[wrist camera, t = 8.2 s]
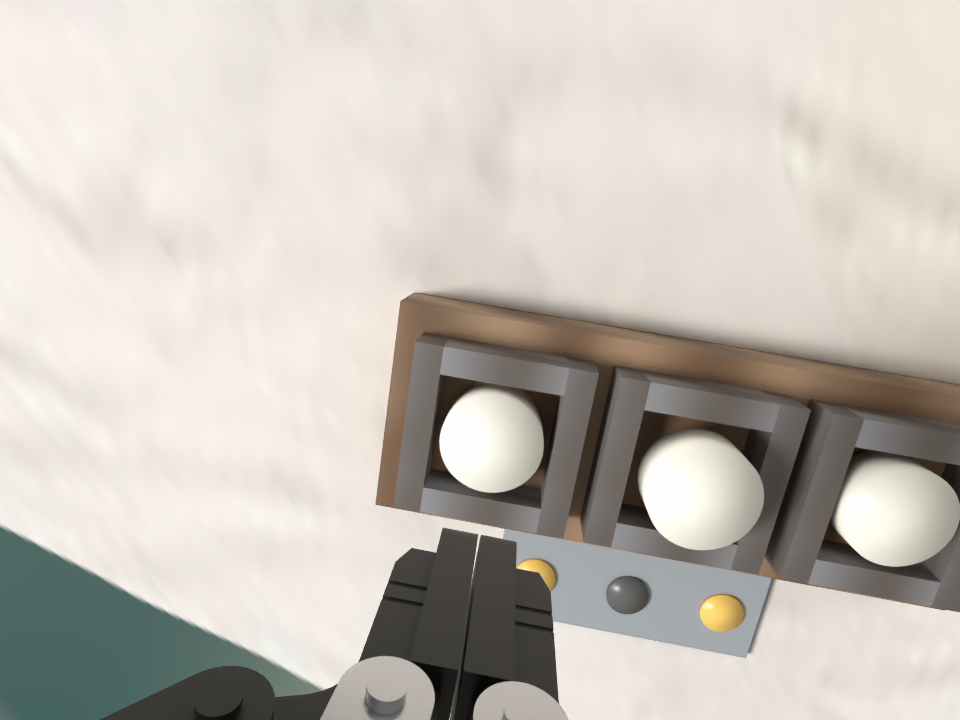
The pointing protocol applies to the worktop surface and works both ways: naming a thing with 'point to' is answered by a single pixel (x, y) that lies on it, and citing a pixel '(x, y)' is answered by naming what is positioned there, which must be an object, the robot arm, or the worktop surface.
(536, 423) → the button left
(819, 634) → the worktop surface
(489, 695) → the robot arm
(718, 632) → the pattern card
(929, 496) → the button right
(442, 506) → the button board
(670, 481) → the button middle
